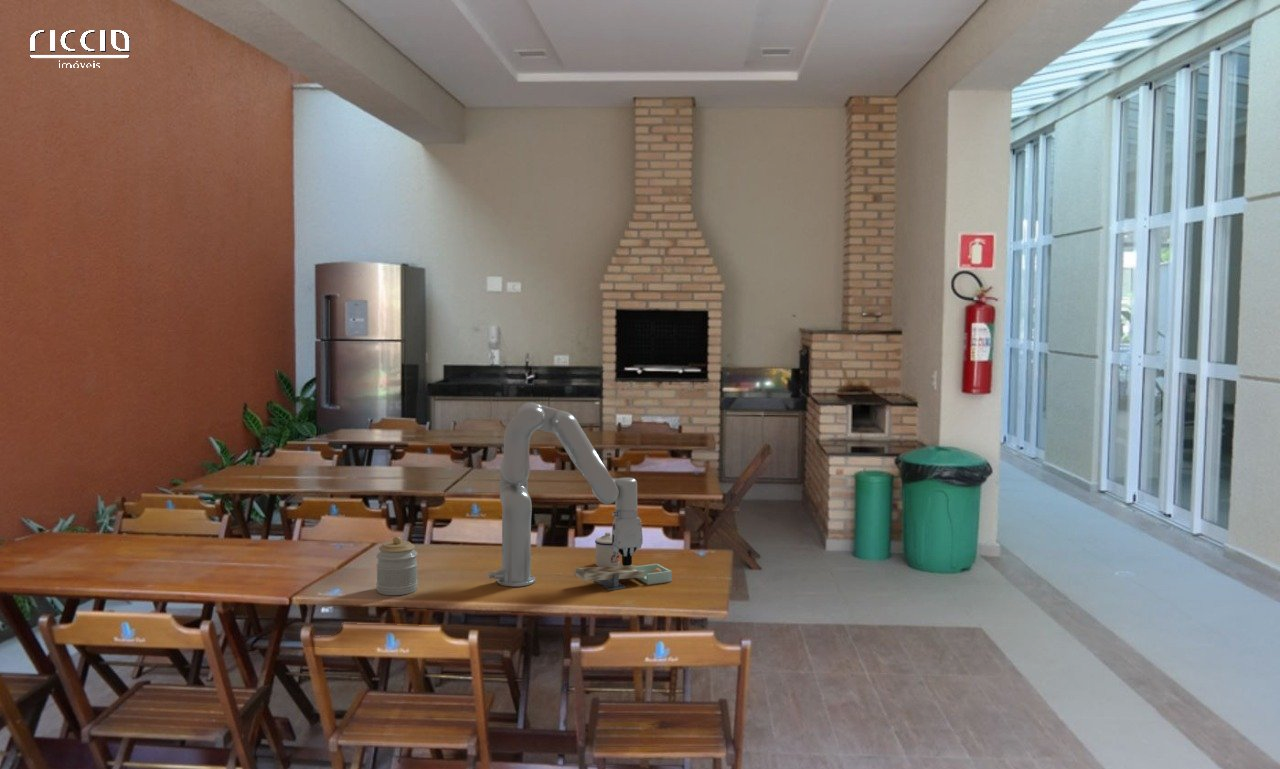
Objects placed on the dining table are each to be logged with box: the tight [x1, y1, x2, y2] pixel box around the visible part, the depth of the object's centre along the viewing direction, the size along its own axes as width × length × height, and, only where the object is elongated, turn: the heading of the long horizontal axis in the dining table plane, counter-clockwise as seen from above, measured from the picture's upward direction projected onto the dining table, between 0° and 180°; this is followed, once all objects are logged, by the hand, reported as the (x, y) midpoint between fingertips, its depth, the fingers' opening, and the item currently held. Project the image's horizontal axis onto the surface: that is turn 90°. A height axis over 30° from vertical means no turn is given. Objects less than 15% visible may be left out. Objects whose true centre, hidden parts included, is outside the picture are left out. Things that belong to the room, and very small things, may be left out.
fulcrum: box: [593, 574, 627, 591], centre depth 313 cm, size 6×12×5 cm, turn 27°
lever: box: [574, 564, 645, 582], centre depth 315 cm, size 22×13×3 cm, turn 117°
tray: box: [635, 563, 673, 586], centre depth 320 cm, size 9×11×4 cm
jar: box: [375, 535, 419, 596], centre depth 304 cm, size 13×13×18 cm
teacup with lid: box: [594, 532, 621, 567], centre depth 339 cm, size 12×9×12 cm
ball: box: [653, 568, 662, 573], centre depth 321 cm, size 3×3×3 cm
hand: (626, 566), depth 324 cm, fingers closed
